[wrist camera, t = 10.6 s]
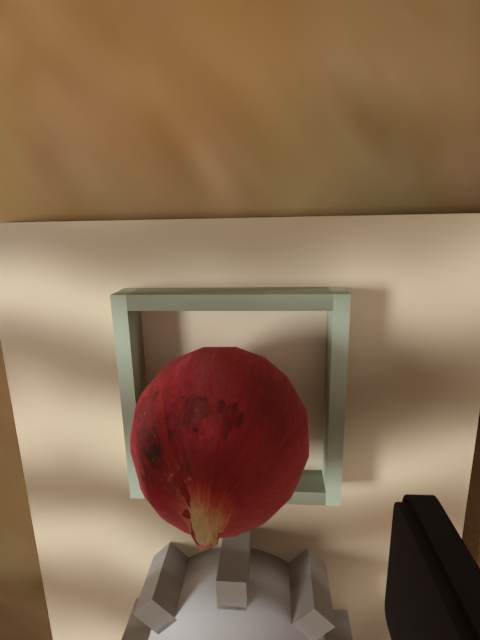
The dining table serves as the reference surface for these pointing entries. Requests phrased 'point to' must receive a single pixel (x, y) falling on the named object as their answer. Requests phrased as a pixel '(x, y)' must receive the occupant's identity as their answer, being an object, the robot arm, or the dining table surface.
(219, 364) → the onion
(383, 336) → the gear board
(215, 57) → the dining table surface
